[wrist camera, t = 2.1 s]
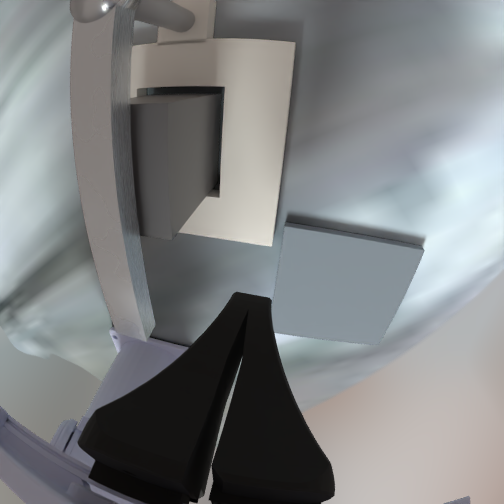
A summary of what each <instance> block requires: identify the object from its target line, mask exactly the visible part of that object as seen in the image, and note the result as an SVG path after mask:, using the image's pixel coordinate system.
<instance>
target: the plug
mask: <svg viewBox="0 0 504 504" xmlns="http://www.w3.org/2000/svg"><path fill="white" fill-rule="evenodd" d="M221 99H222V94H206V93H178V94H153V95H146V96H140V97H134V98H130V116H131V146H132V164H133V177H134V189H135V200H136V209H137V218H138V226H139V234H140V235H141V236H147V237H153V238H160V239H166V240H173V238H174V237H175V236H176V234H177V233H178V232H179V231H180V229H181V228H182V227H183V225H184V224H185V223H186V221H187V220H188V219H189V218H190V216H191V215H192V214H193V212H194V211H195V210H196V209H197V207H198V206H199V205H200V204H201V202H202V201H203V200H204V199H205V197H206V196H207V195H208V194H209V192H210V191H211V190H212V189H213V188H214V186H215V185H216V184H217V183H218V161H219V137H220V117H221Z"/></svg>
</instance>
